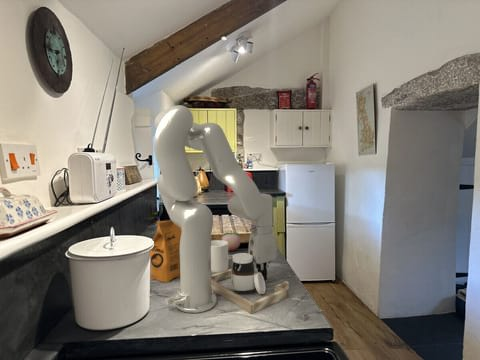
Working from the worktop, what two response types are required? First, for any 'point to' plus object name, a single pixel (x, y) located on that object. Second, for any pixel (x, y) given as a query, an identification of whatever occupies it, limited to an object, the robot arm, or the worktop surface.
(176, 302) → the robot arm
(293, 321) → the worktop surface
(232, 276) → the spread jar
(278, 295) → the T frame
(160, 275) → the coffee package
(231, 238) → the decorative fruit
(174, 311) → the worktop surface
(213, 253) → the mug
